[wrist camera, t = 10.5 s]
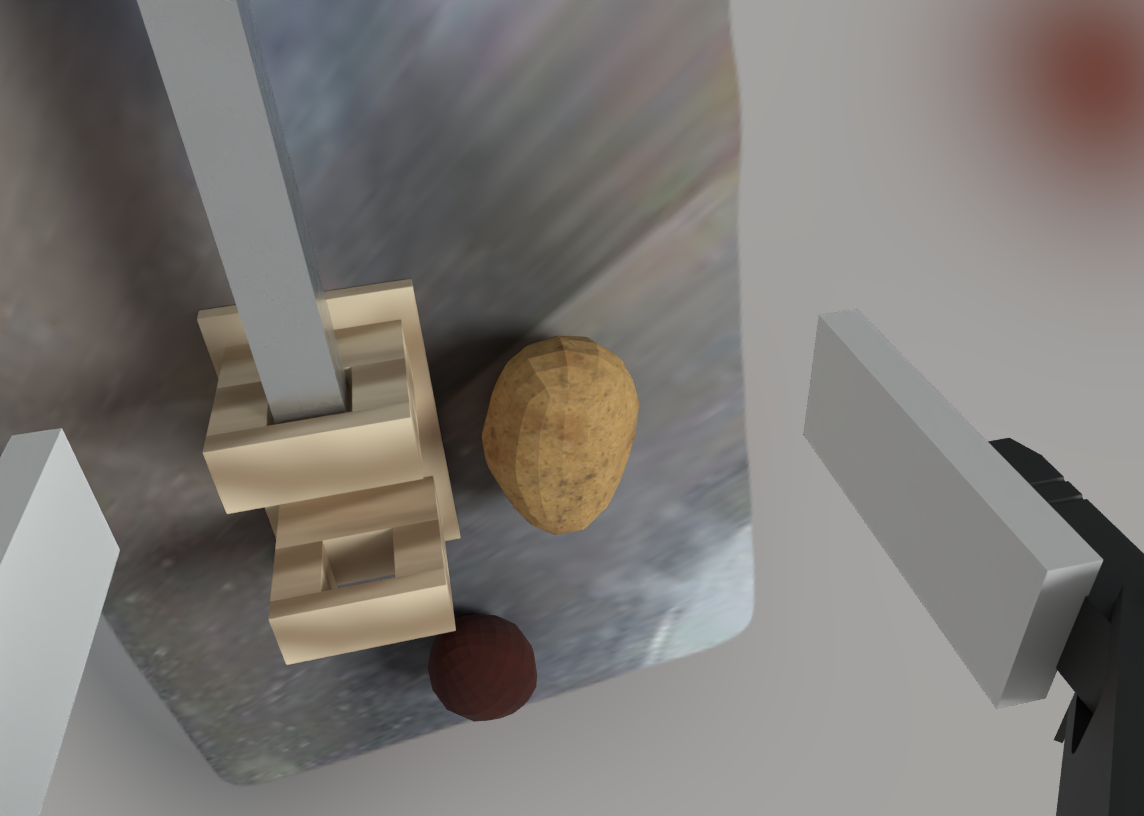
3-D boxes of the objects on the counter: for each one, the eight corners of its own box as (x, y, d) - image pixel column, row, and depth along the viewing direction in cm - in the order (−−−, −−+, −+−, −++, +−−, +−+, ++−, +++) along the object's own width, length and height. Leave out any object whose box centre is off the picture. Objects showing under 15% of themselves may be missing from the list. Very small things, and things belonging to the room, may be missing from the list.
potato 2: (482, 572, 66) (495, 653, 60) (551, 630, 72) (570, 710, 66) (398, 626, 68) (403, 711, 62) (472, 679, 73) (483, 762, 67)
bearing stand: (199, 310, 50) (167, 423, 41) (411, 278, 52) (424, 380, 43) (288, 560, 62) (277, 689, 53) (459, 528, 63) (476, 648, 55)
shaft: (90, -157, 34) (54, -148, 29) (231, -169, 34) (215, -162, 30) (272, 404, 49) (265, 461, 45) (367, 388, 50) (368, 443, 45)
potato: (479, 487, 62) (494, 569, 55) (469, 309, 54) (486, 380, 47) (615, 471, 63) (645, 549, 57) (626, 296, 55) (662, 363, 49)
